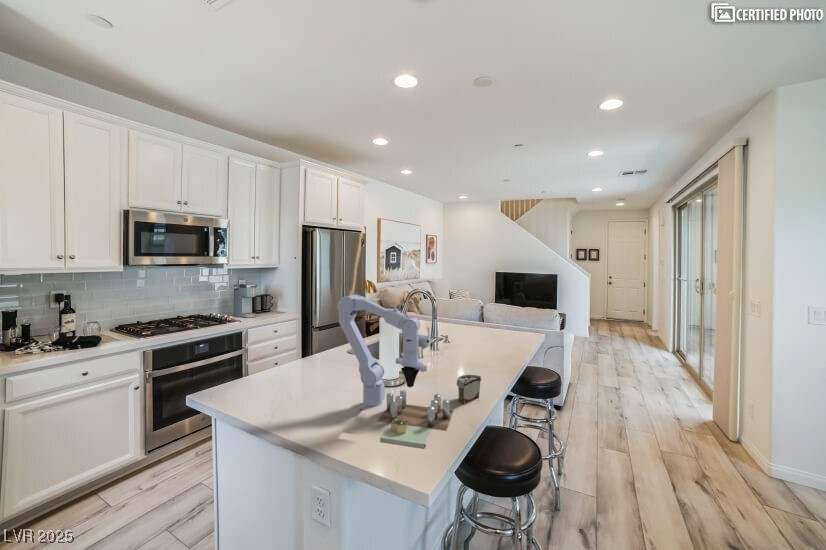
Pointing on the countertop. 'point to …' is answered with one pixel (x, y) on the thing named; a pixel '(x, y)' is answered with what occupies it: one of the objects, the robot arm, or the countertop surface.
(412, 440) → the pad
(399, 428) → the nut
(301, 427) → the countertop surface
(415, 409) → the board
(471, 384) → the food container
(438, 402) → the spacers
